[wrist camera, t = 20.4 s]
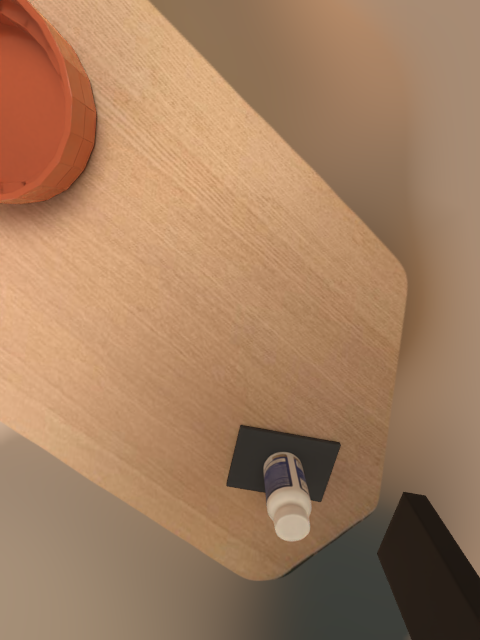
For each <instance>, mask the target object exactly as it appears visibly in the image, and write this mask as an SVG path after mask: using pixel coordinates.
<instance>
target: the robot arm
mask: <svg viewBox="0 0 480 640" xmlns="http://www.w3.org/2000/svg"><path fill="white" fill-rule="evenodd" d="M377 555H378V557H379V560H380V562H381V565H382V567H383V569H384V572H385V575H386V577H387V579H388V582H389V584H390V587H391V589H392V592H393V595H394V597H395V600H396V602H397V604H398V607H399V609H400V612H401V614H402V617H403V619H404V622H405V624H406V627H407V629H408V632H409V634H410V637H411V639H412V640H480V578H479V576H478V575H477V573H476V572H475V570H474V568H473V567H472V565H471V564H470V562H469V561H468V559H467V558H466V556H465V555H464V553H463V552H462V550H461V549H460V547H459V546H458V544H457V543H456V541H455V540H454V538H453V537H452V535H451V534H450V532H449V530H448V529H447V528H446V526H445V524H444V523H443V521H442V520H441V518H440V517H439V515H438V514H437V512H436V511H435V509H434V508H433V506H432V505H431V503H430V502H429V500H428V499H427V497H426V496H424V495H418V494H413V493H407V492H403V494H402V497H401V499H400V501H399V504H398V506H397V508H396V510H395V513H394V515H393V517H392V520H391V522H390V524H389V527H388V529H387V531H386V534H385V536H384V538H383V541H382V543H381V545H380V548H379V550H378V553H377Z"/></svg>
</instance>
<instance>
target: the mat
mask: <svg viewBox="0 0 480 640" xmlns="http://www.w3.org/2000/svg"><path fill="white" fill-rule="evenodd" d="M340 446H341V445H340V443H339V442H333V441H328V440H322V439H316V438H311V437H305V436H300V435H294V434H288V433H283V432H277V431H272V430H266V429H260V428H255V427H249V426H244V425H240V429H239V434H238V438H237V442H236V446H235V450H234V455H233V459H232V463H231V467H230V472H229V476H228V480H227V486H229V487H234V488H240V489H246V490H252V491H258V492H264V493H265V482H264V464H265V462H266V460H267V459H268V458H269V457H270V456H271V455H273V454H275V453H278V452H288V453H291V454H293V455H295V456H296V457H297V458H298V459H299V460H300V462H301V464H302V468H303V472H304V476H305V480H306V484H307V488H308V492H309V496H310V500H312V501H318V502H321V501H322V498H323V495H324V492H325V489H326V486H327V483H328V481H329V478H330V475H331V472H332V469H333V466H334V463H335V460H336V457H337V455H338V452H339V449H340Z"/></svg>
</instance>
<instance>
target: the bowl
mask: <svg viewBox="0 0 480 640" xmlns="http://www.w3.org/2000/svg"><path fill="white" fill-rule="evenodd" d="M95 127H96V109H95V104H94V99H93V95H92V90H91V85H90V81H89V78H88V77H87V75H86V73H85V71H84V69H83V67H82V65H81V63H80V61H79V59H78V57H77V55H76V53H75V51H74V49H73V48H72V47H71V46H70V45H69V43H68V42H67V41H66V40H65V39H64V38H63V37H62V36H61V34H60V33H59V32H58V31H57V30H56V29H55V28H54V27H53V25H52V24H51V23H50V22H49V21H48V20H47V19H46V18H45V17H44V16H43V15H42V14H41V13H40V12H39V11H38V10H37V9H36V8H35V7H34V6H33V5H32V4H31V3H30V2H29V1H28V0H0V203H9V204H25V203H33V202H41V201H46V200H48V199H50V198H52V197H54V196H56V195H57V194H59V193H61V192H63V191H65V190H67V189H68V188H69V187H70V185H71V184H72V183H73V182H74V181H75V180H76V179H77V177H78V176H79V175H80V174H81V173H82V172H83V171H84V169H85V167H86V164H87V162H88V159H89V156H90V154H91V151H92V149H93V146H94V141H95Z"/></svg>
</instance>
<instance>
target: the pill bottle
mask: <svg viewBox="0 0 480 640" xmlns="http://www.w3.org/2000/svg"><path fill="white" fill-rule="evenodd" d="M264 482H265V493H266V506H267V512H268V514H269V516H270V518H271V519H272V520H273V521H274V526H275V531H276V534H277V535H278V536H279V537H280V538H281V539H283V540H286V541H298V540H301V539H303V538H304V537H306V536H307V534H308V533H309V531H310V522H309V515H310V513H311V507H312V506H311V500H310V496H309V492H308V488H307V484H306V480H305V476H304V472H303V468H302V464H301V462H300V460H299V459H298V458H297V457H296V456H295V455H293V454H291V453H288V452H278V453H275V454H273V455H271V456H270V457H269V458H268V459H267V460H266V462H265V464H264Z"/></svg>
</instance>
